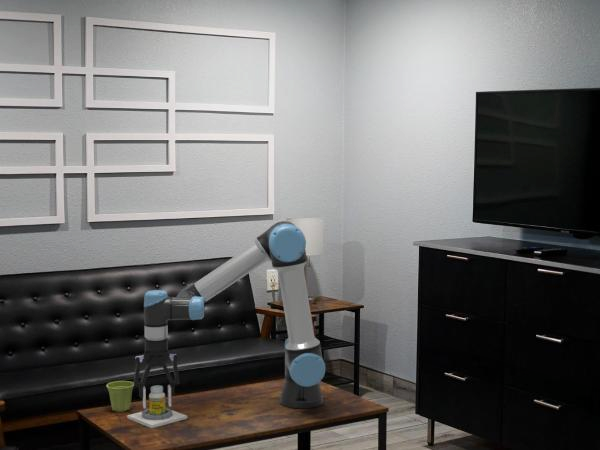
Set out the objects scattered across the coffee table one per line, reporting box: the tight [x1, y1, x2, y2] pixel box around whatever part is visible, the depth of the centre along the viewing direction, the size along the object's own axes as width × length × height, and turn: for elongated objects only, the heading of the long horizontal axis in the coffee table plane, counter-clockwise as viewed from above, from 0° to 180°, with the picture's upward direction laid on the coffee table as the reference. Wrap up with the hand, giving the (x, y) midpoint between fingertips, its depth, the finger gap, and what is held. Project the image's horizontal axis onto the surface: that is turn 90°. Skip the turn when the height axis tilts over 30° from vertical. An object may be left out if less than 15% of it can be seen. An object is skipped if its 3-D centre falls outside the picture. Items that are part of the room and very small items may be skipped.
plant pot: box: [106, 380, 134, 413], centre depth 302 cm, size 9×9×9 cm
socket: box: [126, 407, 188, 429], centre depth 292 cm, size 14×14×2 cm
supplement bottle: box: [148, 384, 167, 416], centre depth 292 cm, size 5×5×10 cm
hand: (157, 406), depth 292 cm, fingers open, 8 cm apart
